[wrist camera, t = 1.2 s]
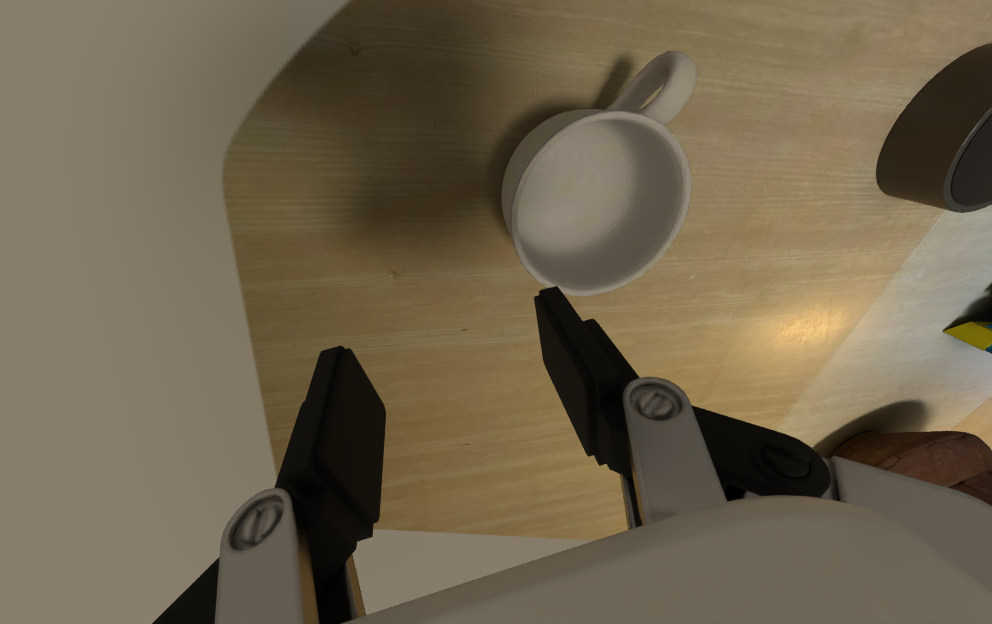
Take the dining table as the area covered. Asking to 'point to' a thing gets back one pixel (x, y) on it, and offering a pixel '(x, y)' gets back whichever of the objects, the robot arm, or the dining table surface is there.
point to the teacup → (602, 185)
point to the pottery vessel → (927, 458)
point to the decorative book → (974, 334)
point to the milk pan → (945, 140)
